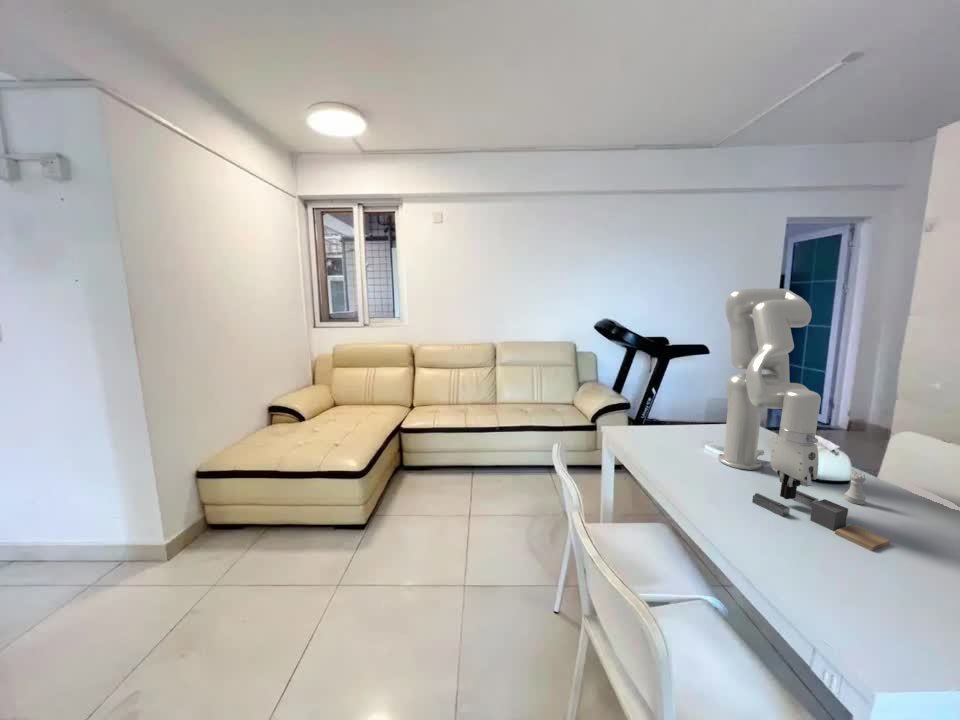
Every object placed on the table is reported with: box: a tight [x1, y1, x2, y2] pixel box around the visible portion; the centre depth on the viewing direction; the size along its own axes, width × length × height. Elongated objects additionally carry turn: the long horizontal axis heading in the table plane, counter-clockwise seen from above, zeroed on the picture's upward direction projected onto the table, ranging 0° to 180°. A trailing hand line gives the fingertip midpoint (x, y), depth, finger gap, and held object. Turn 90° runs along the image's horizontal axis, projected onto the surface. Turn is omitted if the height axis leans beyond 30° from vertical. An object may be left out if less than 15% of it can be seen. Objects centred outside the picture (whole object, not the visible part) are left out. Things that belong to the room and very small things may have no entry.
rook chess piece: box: [844, 472, 867, 506], centre depth 108 cm, size 4×4×8 cm
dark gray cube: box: [809, 498, 849, 532], centre depth 98 cm, size 5×5×5 cm
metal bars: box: [752, 490, 820, 517], centre depth 108 cm, size 14×8×2 cm, turn 110°
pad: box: [834, 523, 891, 552], centre depth 92 cm, size 7×7×1 cm
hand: (787, 497), depth 107 cm, fingers closed
